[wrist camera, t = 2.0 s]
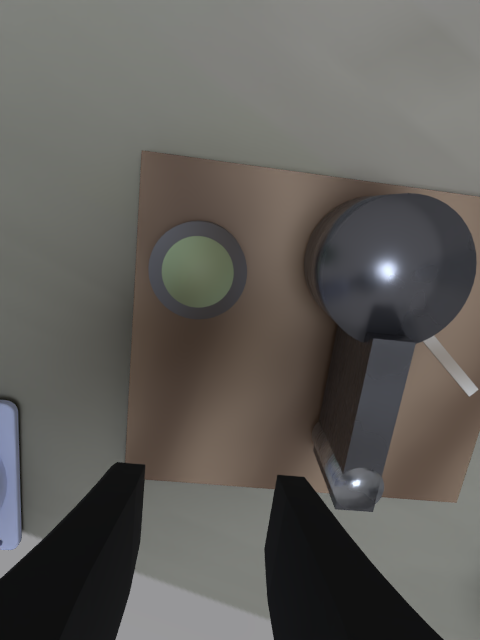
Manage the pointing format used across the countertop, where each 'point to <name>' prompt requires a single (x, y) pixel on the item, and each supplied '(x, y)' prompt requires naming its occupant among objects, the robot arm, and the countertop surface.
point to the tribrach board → (271, 336)
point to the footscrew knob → (379, 323)
